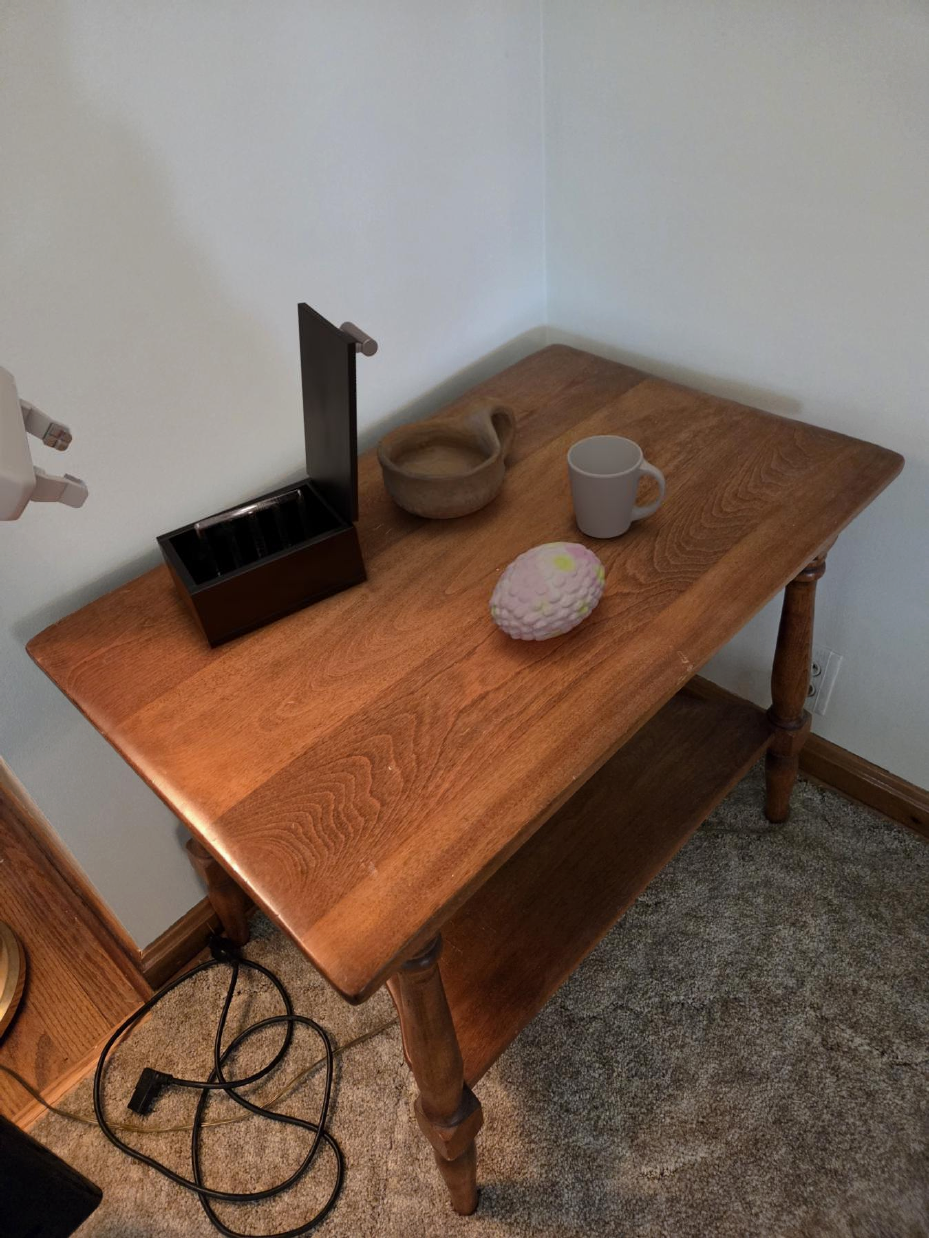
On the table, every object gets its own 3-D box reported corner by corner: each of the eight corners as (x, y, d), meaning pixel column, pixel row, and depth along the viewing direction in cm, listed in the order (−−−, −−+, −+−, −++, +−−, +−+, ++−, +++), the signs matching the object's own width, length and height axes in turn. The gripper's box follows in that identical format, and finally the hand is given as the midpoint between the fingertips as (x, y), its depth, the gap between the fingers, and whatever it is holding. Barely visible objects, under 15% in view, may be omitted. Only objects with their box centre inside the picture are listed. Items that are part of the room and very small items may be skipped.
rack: (222, 608, 90) (196, 536, 84) (213, 585, 93) (187, 514, 87) (327, 570, 93) (309, 498, 87) (315, 549, 96) (297, 478, 90)
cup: (578, 498, 100) (577, 431, 95) (669, 510, 97) (674, 441, 91) (559, 539, 95) (557, 471, 89) (654, 553, 92) (659, 483, 86)
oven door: (347, 343, 77) (393, 336, 79) (297, 303, 84) (340, 297, 86) (351, 523, 88) (391, 512, 90) (306, 473, 95) (344, 465, 97)
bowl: (430, 428, 111) (442, 358, 104) (531, 476, 109) (551, 408, 101) (350, 506, 100) (357, 435, 93) (460, 563, 97) (476, 494, 90)
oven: (211, 649, 88) (189, 595, 83) (176, 590, 95) (155, 536, 90) (367, 580, 93) (355, 525, 88) (323, 529, 100) (310, 476, 96)
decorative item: (461, 613, 81) (520, 518, 78) (497, 601, 91) (551, 517, 88) (543, 672, 79) (607, 578, 76) (570, 653, 89) (628, 569, 87)
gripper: (-100, 416, 55) (115, 499, 64) (-100, 301, 69) (77, 383, 78) (-141, 499, 57) (74, 568, 66) (-132, 370, 71) (44, 442, 80)
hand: (76, 467), depth 72 cm, fingers open, 8 cm apart
